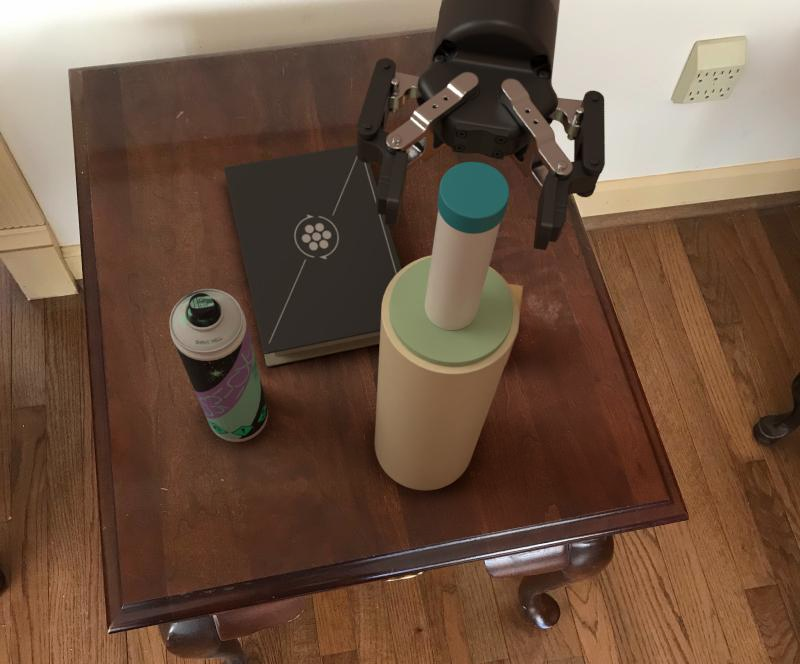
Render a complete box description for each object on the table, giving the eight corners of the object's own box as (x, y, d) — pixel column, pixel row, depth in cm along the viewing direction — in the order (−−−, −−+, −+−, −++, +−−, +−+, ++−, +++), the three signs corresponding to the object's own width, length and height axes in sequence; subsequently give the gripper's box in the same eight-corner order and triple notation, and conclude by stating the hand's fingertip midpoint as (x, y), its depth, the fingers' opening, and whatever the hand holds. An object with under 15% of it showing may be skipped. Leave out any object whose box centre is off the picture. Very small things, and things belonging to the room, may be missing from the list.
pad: (447, 238, 56) (447, 233, 56) (536, 312, 54) (538, 307, 54) (363, 310, 54) (363, 306, 53) (454, 390, 52) (455, 386, 51)
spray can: (195, 416, 76) (144, 305, 58) (238, 376, 78) (201, 256, 60) (238, 454, 75) (199, 352, 57) (280, 412, 77) (256, 300, 58)
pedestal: (421, 380, 79) (446, 230, 57) (493, 443, 76) (547, 312, 55) (354, 443, 76) (352, 310, 54) (425, 510, 74) (454, 401, 52)
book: (418, 337, 81) (420, 321, 78) (266, 368, 78) (263, 353, 76) (366, 162, 89) (366, 142, 86) (227, 185, 87) (223, 166, 84)
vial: (421, 315, 55) (448, 146, 51) (475, 324, 55) (506, 155, 51) (411, 367, 45) (443, 160, 41) (477, 378, 45) (515, 172, 41)
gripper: (389, -49, 50) (339, 165, 43) (626, -13, 49) (613, 208, 43) (385, 50, 57) (342, 248, 50) (593, 82, 56) (577, 285, 50)
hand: (467, 229), depth 46 cm, fingers open, 8 cm apart
